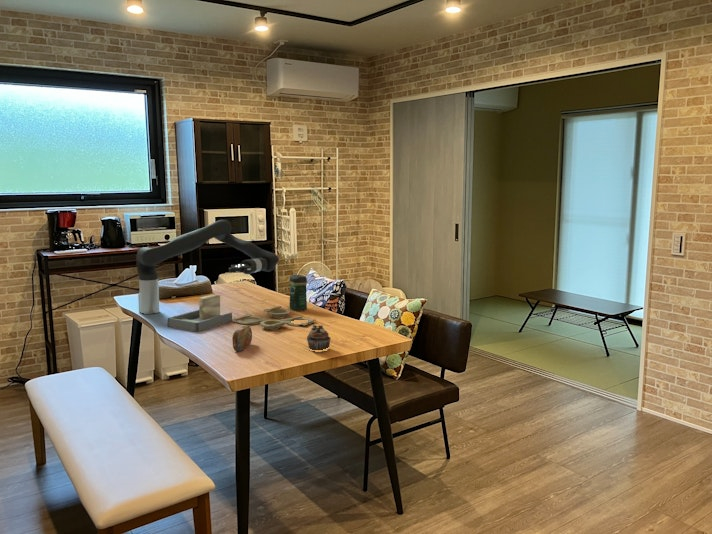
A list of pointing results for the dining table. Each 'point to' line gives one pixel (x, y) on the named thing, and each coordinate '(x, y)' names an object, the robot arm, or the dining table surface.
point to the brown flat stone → (242, 338)
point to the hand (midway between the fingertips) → (229, 270)
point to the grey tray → (197, 321)
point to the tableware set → (272, 324)
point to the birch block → (209, 306)
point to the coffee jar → (298, 292)
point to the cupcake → (318, 338)
